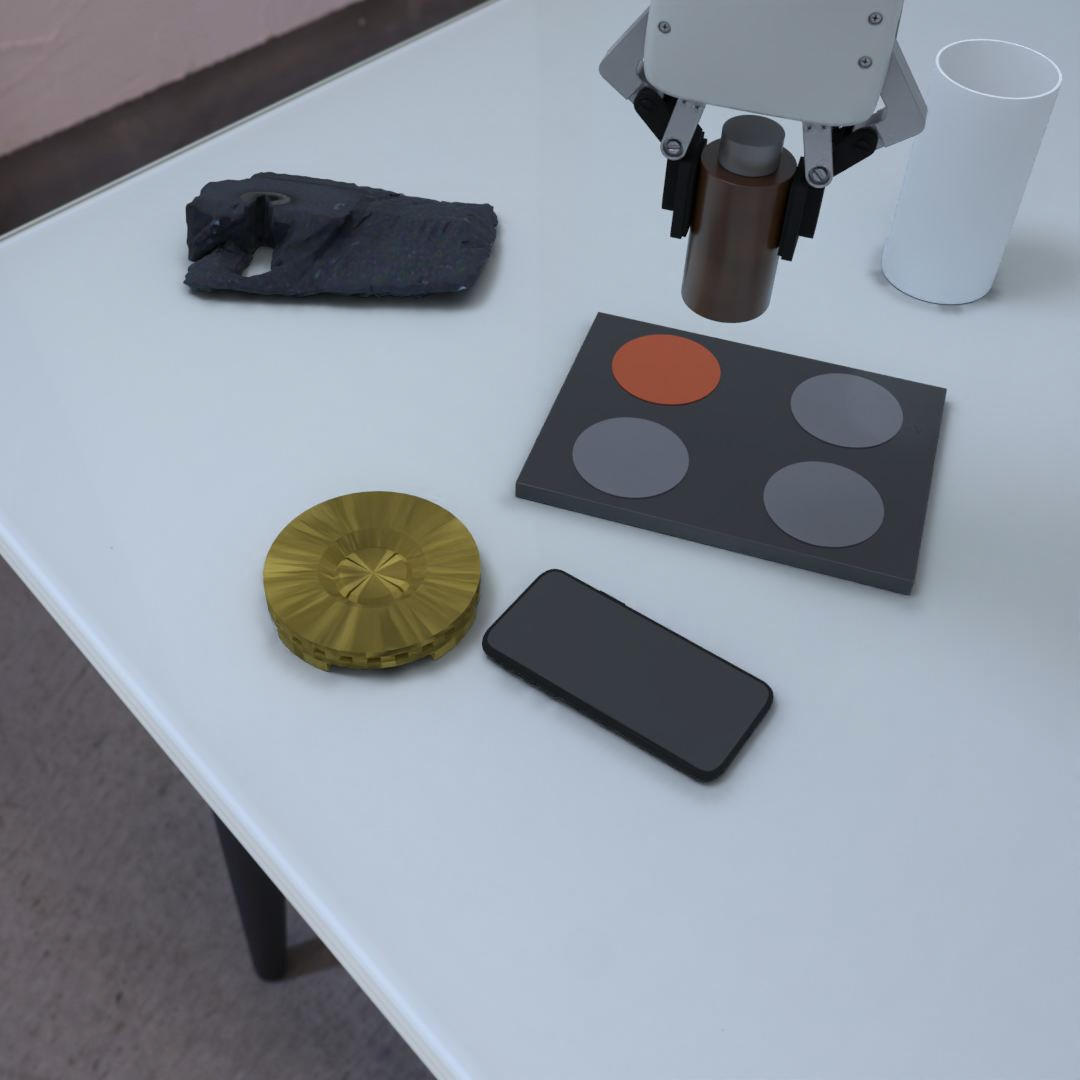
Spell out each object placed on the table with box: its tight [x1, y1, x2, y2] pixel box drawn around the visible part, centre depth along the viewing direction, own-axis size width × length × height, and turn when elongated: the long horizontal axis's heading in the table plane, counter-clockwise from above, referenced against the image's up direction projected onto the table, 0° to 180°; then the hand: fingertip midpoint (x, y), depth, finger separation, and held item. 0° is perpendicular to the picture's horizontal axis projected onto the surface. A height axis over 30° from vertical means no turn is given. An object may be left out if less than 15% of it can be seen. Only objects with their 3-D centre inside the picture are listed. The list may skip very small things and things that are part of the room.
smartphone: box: [481, 568, 774, 782], centre depth 70 cm, size 7×1×15 cm
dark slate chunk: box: [182, 171, 499, 299], centre depth 95 cm, size 15×22×5 cm
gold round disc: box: [262, 490, 482, 672], centre depth 74 cm, size 12×12×2 cm
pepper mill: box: [680, 114, 798, 324], centre depth 61 cm, size 4×4×9 cm
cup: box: [880, 38, 1063, 305], centre depth 92 cm, size 8×8×16 cm
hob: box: [514, 311, 948, 596], centre depth 83 cm, size 24×18×1 cm
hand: (736, 230), depth 62 cm, fingers closed on pepper mill, 4 cm apart
